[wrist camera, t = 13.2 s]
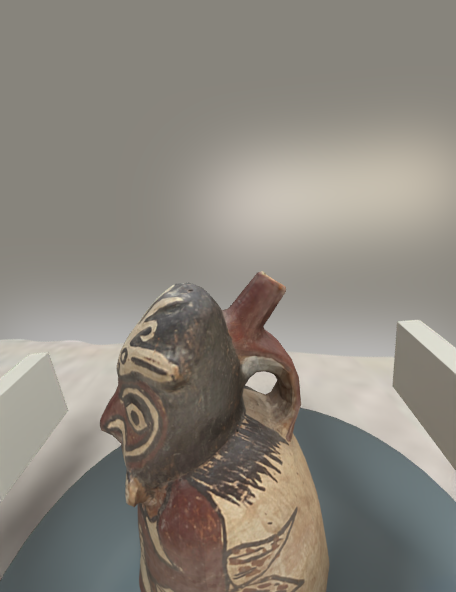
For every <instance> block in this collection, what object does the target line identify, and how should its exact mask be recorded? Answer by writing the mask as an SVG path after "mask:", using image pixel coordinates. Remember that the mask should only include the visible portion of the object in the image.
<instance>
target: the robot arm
mask: <svg viewBox="0 0 456 592" xmlns="http://www.w3.org/2000/svg"><path fill="white" fill-rule="evenodd" d="M393 387H394V389H395V390H396V391H397V393H398V394H399V395H400V397H401V398H402V399H403V401H404V402H405V403H406V405H407V406H408V407H409V409H410V410H411V411H412V413H413V414H414V415H415V417H416V418H417V419H418V421H419V422H420V423H421V425H422V426H423V427H424V429H425V430H426V431H427V433H428V434H429V435H430V437H431V438H432V439H433V441H434V442H435V443H436V445H437V446H438V447H439V449H440V450H441V451H442V453H443V454H444V455H445V457H446V458H447V459H448V461H449V462H450V463H451V465H452V466H453V467H454V469H455V470H456V348H455V347H454V346H452V345H451V344H450V343H448V342H447V341H446V340H445V339H444V338H442V337H441V336H439V335H438V334H437V333H436V332H434V331H433V330H432V329H431V328H429V327H428V326H427V325H425V324H424V323H423V322H421V321H420V320H410V321H399V322H397V332H396V346H395V360H394V374H393ZM67 411H68V408H67V405H66V402H65V399H64V396H63V393H62V391H61V388H60V385H59V382H58V379H57V376H56V373H55V370H54V367H53V364H52V361H51V358H50V355H49V353H48V352H45V353H34V354H29V355H28V356H26V357H25V358H24V359H23V360H22V361H20V362H19V363H18V364H17V365H16V366H14V367H13V368H12V369H11V370H10V371H8V372H7V373H6V374H5V375H4V376H2V377H1V378H0V503H1V501H2V500H3V499H4V497H5V496H6V494H7V493H8V492H9V490H10V489H11V488H12V486H13V485H14V484H15V482H16V481H17V479H18V478H19V477H20V475H21V474H22V473H23V471H24V470H25V469H26V467H27V466H28V465H29V463H30V462H31V460H32V459H33V458H34V456H35V455H36V454H37V452H38V451H39V450H40V448H41V447H42V445H43V444H44V443H45V441H46V440H47V439H48V437H49V436H50V435H51V433H52V432H53V430H54V429H55V428H56V426H57V425H58V424H59V422H60V421H61V420H62V418H63V417H64V415H65V414H66V413H67Z"/></svg>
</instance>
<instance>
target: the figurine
mask: <svg viewBox="0 0 456 592" xmlns="http://www.w3.org/2000/svg"><path fill="white" fill-rule="evenodd" d="M285 292H286V287H285V286H284V285H282V284H280V283H278V282H277V281H275V280H273V279H272V278H270V277H269V276H267V275H266V274H265V273H264V272H263V271H262V272H258V273H257V274H256V275H255V276H254V278H253V279H252V280H251V281H250V283H249V284H248V285H247V286H246V287H245V289H244V290H243V291H242V292H241V294H240V295H239V296H238V298H237V299H236V300H235V302H233V304H232V305H231V306H230V307H229V308H228V309H225V310H221V308H220V307H219V306H218V304H217V303H216V302H215V300H214V299H213V298H212V297H211V296H210V295H209V294H208V293H207V291H205V290H204V289H203V288H201V287H199V286H196V285H194V284H191V283H184V284H175V285H173V286H171V287H170V288H169V289H167V290H166V291H165V292H164V293H163V294H161V295H160V296H159V297H158V298H157V299H156V300H155V302H154V303H153V304H152V305H151V306H150V308H149V309H148V310H147V311H146V313H145V314H144V315H143V317H142V318H141V320H140V321H139V322H138V323H137V325H136V326H135V328H134V329H133V330H132V332H131V333H130V334H129V336H128V338H127V340H126V341H125V343H124V345H123V348H122V350H121V352H120V355H119V359H118V363H117V373H118V387H117V389H116V392H115V394H114V395H113V397H112V398H111V400H110V401H109V403H108V405H107V407H106V409H105V411H104V413H103V415H102V417H101V420H100V427H101V430H102V431H104V432H107V433H109V434H111V435H113V436H114V437H115V438H116V439H117V440H118V441H119V442H120V443H121V448H122V452H123V457H124V461H125V465H126V482H125V497H126V503H127V504H128V505H130V506H133V507H135V506H136V505H137V504H138V528H139V538H140V548H141V558H140V572H139V586H140V590H141V592H326V588H327V580H328V572H329V556H328V549H327V543H326V537H325V531H324V525H323V519H322V514H321V508H320V503H319V499H318V495H317V491H316V488H315V485H314V482H313V479H312V476H311V473H310V470H309V468H308V465H307V462H306V459H305V457H304V454H303V452H302V450H301V448H300V446H299V443H298V441H297V439H296V438H295V436H294V434H293V430H294V424H295V421H296V418H297V415H298V412H299V409H300V406H301V399H300V386H299V377H298V374H297V372H296V369H295V367H294V364H293V362H292V359H291V358H290V356H289V355H288V354H287V352H286V351H285V349H284V348H283V347H282V345H281V344H280V343H279V341H278V340H277V339H276V338H275V337H274V336H272V335H271V334H270V333H269V332H267V331H266V330H264V327H263V326H264V324H265V323H266V321H267V320H268V318H269V317H270V315H271V314H272V312H273V311H274V309H275V307H276V306H277V304H278V303H279V301H280V300H281V298H282V297H283V295H284V294H285ZM261 371H266V372H270V373H272V374H274V375H275V376H276V378H277V382H276V384H275V386H274V387H273V389H272V391H271V392H270V393H268V394H266V395H265V394H262V393H259V392H257V391H255V390H253V389H252V388H250V387H248V386H245V384H246V383H247V381H248V379H249V378H250V377H251V376H252V375H254V374H255V373H256V372H261Z"/></svg>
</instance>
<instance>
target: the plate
mask: <svg viewBox="0 0 456 592" xmlns="http://www.w3.org/2000/svg"><path fill="white" fill-rule="evenodd" d="M293 434H294V436H295V438H296V439H297V441H298V443H299V446H300V448H301V450H302V452H303V454H304V457H305V459H306V462H307V465H308V468H309V470H310V473H311V476H312V479H313V482H314V485H315V488H316V491H317V495H318V499H319V503H320V508H321V514H322V519H323V525H324V531H325V537H326V543H327V549H328V556H329V572H328V580H327V588H326V592H456V502H455V501H454V500H453V499H452V498H451V496H450V495H449V494H448V493H447V492H446V491H445V490H443V489H442V488H441V487H440V486H439V485H438V484H437V483H436V482H435V481H434V480H433V479H432V478H431V477H430V476H428V475H427V474H426V473H425V472H424V471H423V470H422V469H420V468H419V467H418V466H417V465H415V464H414V463H413V462H411V461H410V460H409V459H408V458H406V457H405V456H404V455H403V454H401V453H400V452H398V451H397V450H395V449H394V448H392V447H391V446H389V445H388V444H386V443H384V442H383V441H381V440H380V439H378V438H376V437H375V436H373V435H371V434H369V433H367V432H365V431H363V430H361V429H360V428H358V427H356V426H353V425H351V424H349V423H346V422H344V421H342V420H339V419H337V418H334V417H331V416H328V415H325V414H322V413H319V412H316V411H312V410H308V409H303V408H300V409H299V412H298V415H297V418H296V421H295V424H294V430H293ZM125 482H126V465H125V461H124V457H123V452H122V448H121V446H120V447H118V448H117V449H115V450H114V451H113V452H111V453H110V454H108V455H107V456H106V457H104V458H103V459H102V460H101V461H99V462H98V463H97V464H96V465H95V466H93V467H92V468H91V469H90V470H89V471H87V472H86V473H85V474H84V475H83V476H82V477H81V478H80V479H79V480H78V481H77V482H76V483H75V484H74V485H73V486H72V487H71V488H69V489H68V490H67V491H66V492H65V494H64V495H63V496H62V497H61V498H60V499H59V500H58V501H57V503H56V504H55V505H54V506H53V507H52V508H51V509H50V510H49V512H48V513H47V514H46V515H45V516H44V518H43V519H42V520H41V522H40V523H39V524H38V525H37V527H36V528H35V529H34V531H33V532H32V533H31V535H30V536H29V537H28V539H27V540H26V541H25V543H24V544H23V546H22V547H21V549H20V550H19V552H18V553H17V555H16V557H15V558H14V560H13V561H12V563H11V564H10V566H9V567H8V569H7V570H6V572H5V574H4V575H3V577H2V579H1V581H0V592H141V590H140V586H139V572H140V558H141V548H140V538H139V528H138V504H137V505H136V506H135V507H133V506H130V505H128V504H127V503H126V497H125Z"/></svg>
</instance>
